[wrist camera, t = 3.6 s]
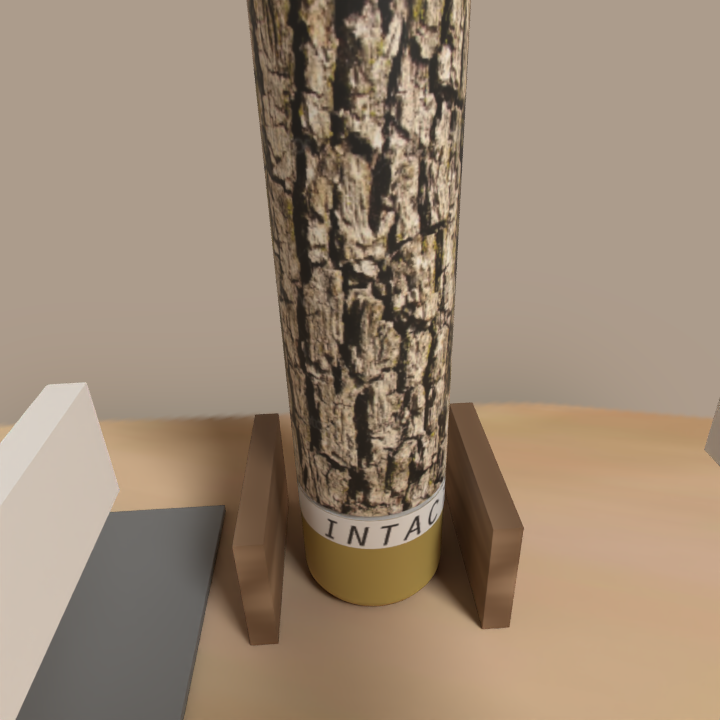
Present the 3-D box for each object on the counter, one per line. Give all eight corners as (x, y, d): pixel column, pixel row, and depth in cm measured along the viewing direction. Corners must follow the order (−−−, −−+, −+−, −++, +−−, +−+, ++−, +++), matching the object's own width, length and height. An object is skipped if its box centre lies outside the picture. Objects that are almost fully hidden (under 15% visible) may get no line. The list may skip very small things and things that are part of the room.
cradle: (250, 645, 25) (232, 546, 23) (267, 501, 33) (255, 414, 30) (509, 627, 26) (523, 527, 23) (465, 489, 34) (472, 402, 31)
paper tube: (287, 534, 31) (219, -27, 19) (400, 494, 34) (403, -26, 21) (337, 637, 26) (285, -56, 14) (467, 581, 28) (522, -50, 16)
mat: (-142, 757, 22) (-148, 751, 22) (7, 523, 32) (5, 518, 32) (180, 732, 22) (178, 727, 22) (225, 510, 33) (224, 505, 33)
